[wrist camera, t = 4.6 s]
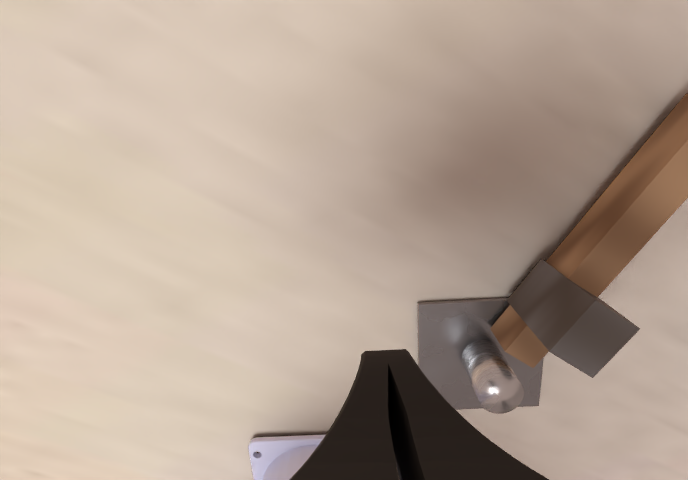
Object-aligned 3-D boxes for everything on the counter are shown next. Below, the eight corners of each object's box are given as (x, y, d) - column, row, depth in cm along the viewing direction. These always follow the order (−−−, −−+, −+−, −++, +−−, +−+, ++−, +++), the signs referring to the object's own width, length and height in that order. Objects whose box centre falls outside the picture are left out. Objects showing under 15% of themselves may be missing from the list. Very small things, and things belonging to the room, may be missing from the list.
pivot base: (536, 402, 24) (566, 449, 21) (418, 407, 24) (429, 454, 21) (546, 295, 22) (581, 328, 19) (417, 302, 22) (429, 335, 19)
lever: (538, 357, 22) (586, 420, 18) (485, 325, 22) (521, 382, 17) (739, 134, 19) (864, 141, 14) (681, 89, 18) (793, 81, 14)
